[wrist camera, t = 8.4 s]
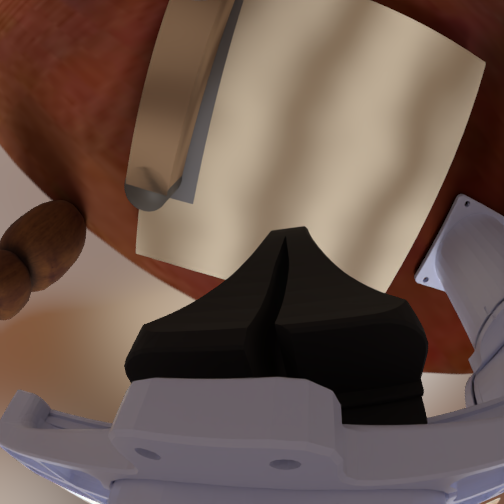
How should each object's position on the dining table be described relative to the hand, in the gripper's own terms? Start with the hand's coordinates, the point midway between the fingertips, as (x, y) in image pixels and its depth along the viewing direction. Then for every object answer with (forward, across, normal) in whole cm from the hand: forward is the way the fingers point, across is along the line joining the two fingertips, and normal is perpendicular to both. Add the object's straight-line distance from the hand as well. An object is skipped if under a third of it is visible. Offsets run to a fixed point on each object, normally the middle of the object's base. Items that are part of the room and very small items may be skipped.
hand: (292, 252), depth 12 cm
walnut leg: (+7, +5, -7) cm, 11 cm away
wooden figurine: (+10, +19, 0) cm, 22 cm away
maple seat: (+10, -1, -2) cm, 10 cm away
